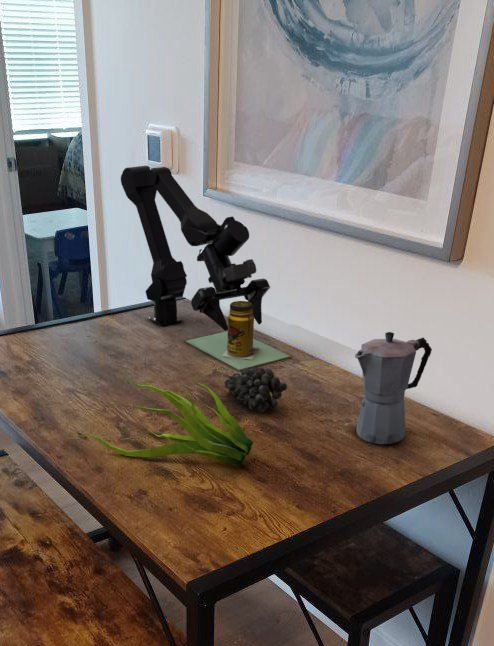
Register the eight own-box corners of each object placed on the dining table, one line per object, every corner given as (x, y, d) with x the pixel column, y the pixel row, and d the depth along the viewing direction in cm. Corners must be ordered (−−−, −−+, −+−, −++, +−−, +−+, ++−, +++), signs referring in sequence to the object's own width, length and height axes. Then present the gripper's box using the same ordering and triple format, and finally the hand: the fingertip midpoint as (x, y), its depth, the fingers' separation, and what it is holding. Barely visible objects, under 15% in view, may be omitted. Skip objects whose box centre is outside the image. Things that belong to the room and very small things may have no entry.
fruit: (219, 352, 143) (269, 373, 132) (248, 356, 148) (298, 377, 138) (208, 392, 145) (256, 417, 135) (238, 395, 151) (286, 419, 140)
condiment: (221, 356, 165) (222, 306, 158) (231, 344, 171) (233, 295, 165) (251, 360, 163) (253, 309, 156) (260, 348, 169) (263, 299, 163)
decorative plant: (135, 414, 139) (132, 343, 131) (258, 463, 122) (263, 384, 115) (65, 448, 127) (57, 371, 119) (192, 506, 110) (192, 422, 103)
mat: (185, 341, 174) (185, 340, 174) (234, 330, 181) (234, 329, 181) (239, 370, 158) (239, 369, 158) (290, 357, 165) (290, 356, 165)
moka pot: (332, 430, 133) (344, 328, 123) (398, 416, 139) (415, 317, 129) (361, 452, 126) (376, 346, 116) (430, 437, 131) (451, 334, 121)
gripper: (197, 252, 153) (222, 316, 151) (268, 243, 162) (293, 303, 159) (180, 279, 163) (203, 339, 161) (247, 269, 171) (271, 326, 169)
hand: (243, 326), depth 162 cm, fingers open, 9 cm apart
